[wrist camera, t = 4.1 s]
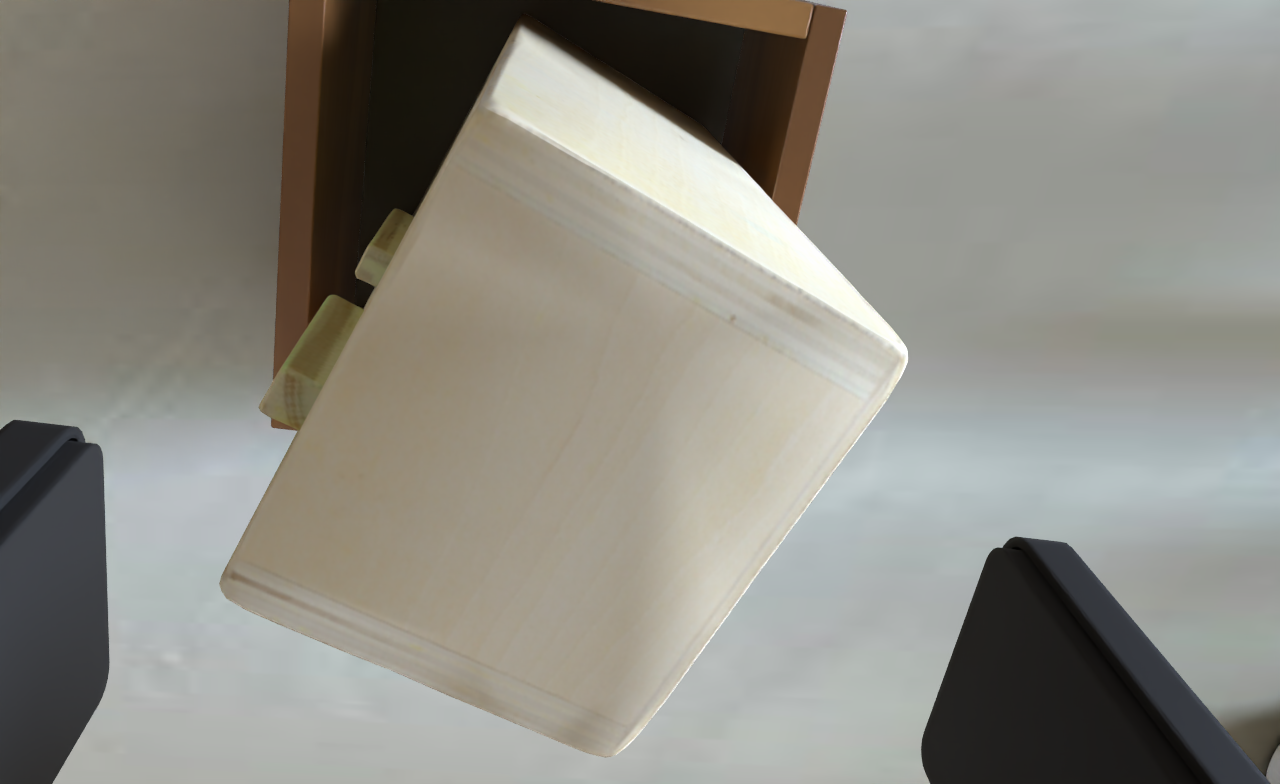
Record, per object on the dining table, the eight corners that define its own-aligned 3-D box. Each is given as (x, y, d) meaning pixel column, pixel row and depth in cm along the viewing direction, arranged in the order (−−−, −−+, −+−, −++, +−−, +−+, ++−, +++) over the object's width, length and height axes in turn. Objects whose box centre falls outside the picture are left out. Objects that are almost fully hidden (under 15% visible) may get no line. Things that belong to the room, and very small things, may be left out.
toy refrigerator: (502, -13, 31) (430, 63, 12) (707, 118, 33) (934, 368, 14) (380, 215, 33) (153, 591, 14) (578, 323, 35) (619, 783, 16)
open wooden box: (328, 324, 34) (270, 428, 27) (354, -86, 30) (292, -95, 22) (697, 373, 36) (735, 483, 29) (778, -6, 32) (848, 10, 24)
